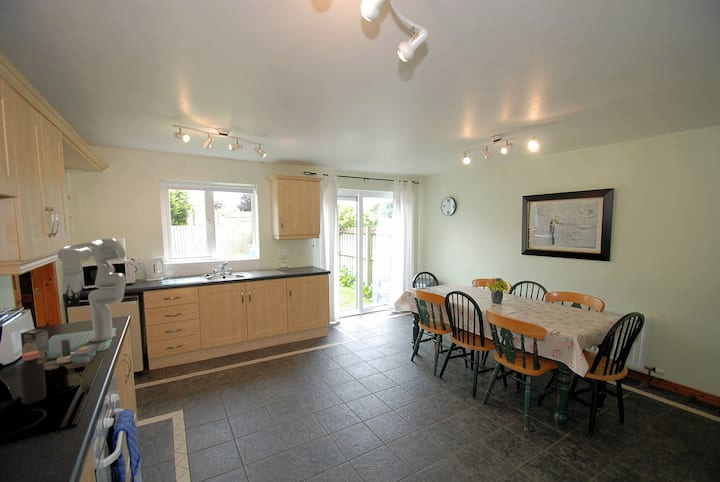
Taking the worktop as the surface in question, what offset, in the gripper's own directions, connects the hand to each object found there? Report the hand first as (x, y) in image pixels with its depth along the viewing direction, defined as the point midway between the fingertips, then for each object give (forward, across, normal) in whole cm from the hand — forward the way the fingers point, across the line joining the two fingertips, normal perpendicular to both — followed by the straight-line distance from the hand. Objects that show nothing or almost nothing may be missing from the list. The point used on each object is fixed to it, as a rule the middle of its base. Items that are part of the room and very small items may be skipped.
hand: (75, 304), depth 166 cm
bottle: (+29, +46, +1) cm, 55 cm away
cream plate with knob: (+26, +10, -1) cm, 28 cm away
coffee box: (+29, -6, -20) cm, 36 cm away
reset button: (+25, +10, +5) cm, 27 cm away
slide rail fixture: (+29, +10, -3) cm, 31 cm away
